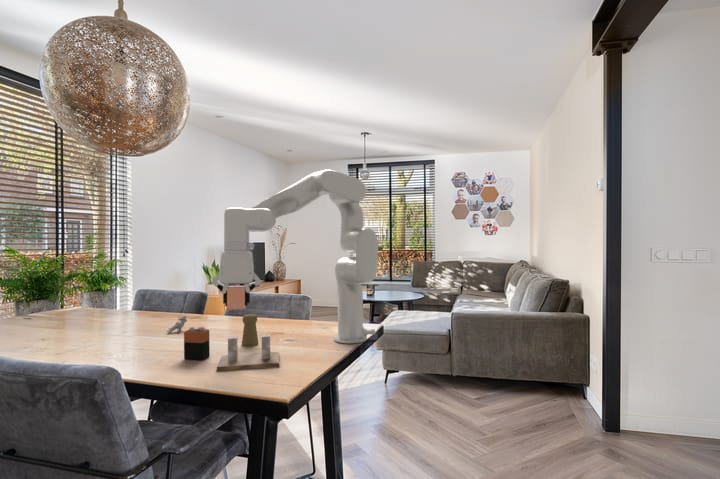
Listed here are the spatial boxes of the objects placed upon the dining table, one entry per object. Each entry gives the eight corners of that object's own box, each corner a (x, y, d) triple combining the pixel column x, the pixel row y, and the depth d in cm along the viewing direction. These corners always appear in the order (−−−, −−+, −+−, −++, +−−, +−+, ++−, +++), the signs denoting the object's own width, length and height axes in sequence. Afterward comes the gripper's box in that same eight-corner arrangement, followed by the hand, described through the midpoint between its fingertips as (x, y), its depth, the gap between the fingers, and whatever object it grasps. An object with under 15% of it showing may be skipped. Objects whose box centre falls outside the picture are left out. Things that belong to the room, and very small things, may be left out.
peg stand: (278, 355, 136) (278, 330, 136) (279, 366, 124) (279, 339, 124) (221, 359, 132) (221, 333, 132) (216, 371, 121) (216, 343, 121)
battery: (202, 360, 131) (202, 329, 131) (183, 359, 132) (183, 328, 132) (210, 357, 135) (210, 326, 135) (191, 356, 136) (191, 325, 136)
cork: (254, 347, 147) (253, 316, 147) (238, 346, 148) (238, 315, 148) (261, 342, 153) (261, 313, 153) (246, 342, 154) (246, 312, 154)
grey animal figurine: (161, 332, 172) (179, 321, 179) (170, 342, 171) (188, 331, 179) (166, 320, 166) (185, 309, 174) (176, 330, 166) (194, 319, 173)
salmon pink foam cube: (245, 306, 132) (245, 285, 132) (244, 309, 127) (244, 287, 127) (228, 306, 131) (228, 286, 131) (227, 309, 126) (227, 287, 126)
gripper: (265, 247, 134) (264, 303, 134) (209, 247, 131) (209, 304, 131) (264, 247, 127) (264, 306, 127) (206, 247, 123) (205, 308, 123)
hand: (236, 305), depth 129 cm, fingers closed on salmon pink foam cube, 5 cm apart
